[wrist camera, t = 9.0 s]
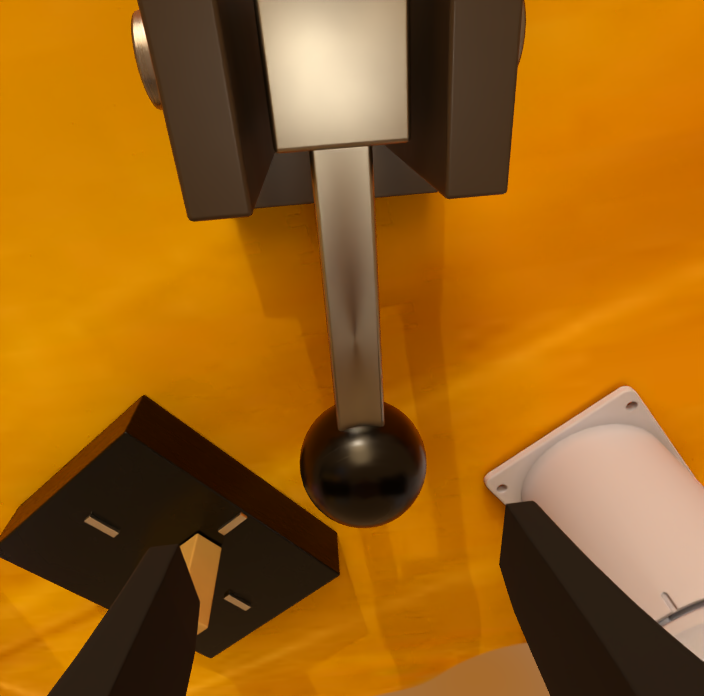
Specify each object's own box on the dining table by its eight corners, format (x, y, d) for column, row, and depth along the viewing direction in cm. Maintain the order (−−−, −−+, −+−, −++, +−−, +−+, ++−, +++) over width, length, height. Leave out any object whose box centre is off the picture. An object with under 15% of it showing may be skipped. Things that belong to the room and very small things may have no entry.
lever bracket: (430, 185, 17) (555, 294, 9) (229, 203, 17) (152, 333, 8) (433, -121, 13) (667, -475, 5) (171, -104, 13) (-83, -450, 4)
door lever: (413, 459, 15) (438, 548, 12) (306, 471, 15) (307, 564, 12) (408, -45, 9) (456, -99, 6) (231, -33, 9) (197, -83, 6)
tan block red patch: (197, 532, 21) (177, 619, 17) (222, 547, 21) (207, 634, 18) (128, 583, 22) (97, 674, 19) (153, 597, 23) (127, 687, 19)
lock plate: (337, 532, 25) (340, 578, 23) (218, 613, 28) (210, 662, 25) (144, 393, 20) (123, 434, 18) (18, 507, 23) (-15, 555, 20)
